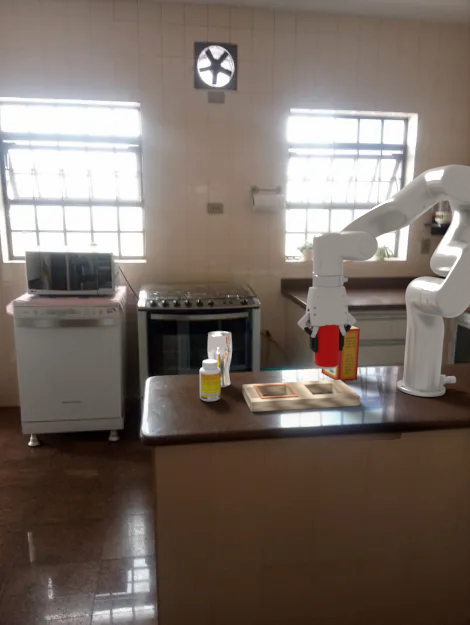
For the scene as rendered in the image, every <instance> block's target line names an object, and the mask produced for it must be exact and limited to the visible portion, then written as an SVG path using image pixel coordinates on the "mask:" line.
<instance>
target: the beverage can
mask: <svg viewBox="0 0 470 625" xmlns="http://www.w3.org/2000/svg"><path fill="white" fill-rule="evenodd" d="M316 337H317V338H318V352H317V353H314V364H315V366H316V367H318V368H320V369H321V370H322V369H333V368H335V367H337V366H338V364H339V326H337V325H335V324H327V325H325V326H322V327H319V329H318V331H317V334H316Z"/></svg>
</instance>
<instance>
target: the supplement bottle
mask: <svg viewBox="0 0 470 625" xmlns="http://www.w3.org/2000/svg"><path fill="white" fill-rule="evenodd" d="M198 371H199V374H198V376H199V399H200V400H202V401H203V402H209V403H210V402H216V401H218V400H220V399H221V392H222V390H221V389H222V387H221V370H220V368H219V367H218V361H217V360H214V359H209V358H207V359H204V360H202V367H200V369H199V370H198Z"/></svg>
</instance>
